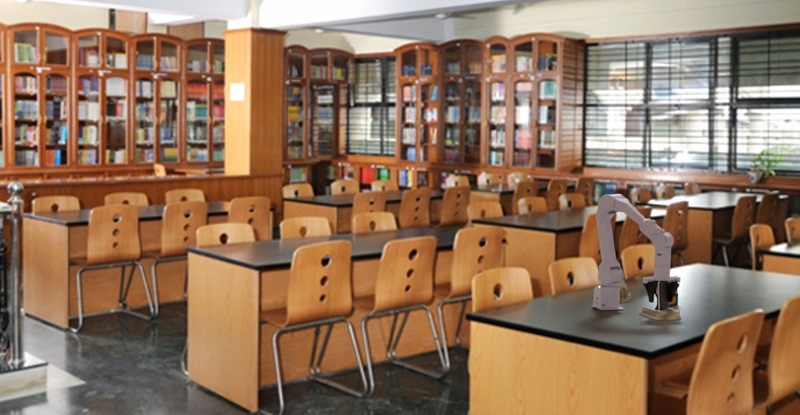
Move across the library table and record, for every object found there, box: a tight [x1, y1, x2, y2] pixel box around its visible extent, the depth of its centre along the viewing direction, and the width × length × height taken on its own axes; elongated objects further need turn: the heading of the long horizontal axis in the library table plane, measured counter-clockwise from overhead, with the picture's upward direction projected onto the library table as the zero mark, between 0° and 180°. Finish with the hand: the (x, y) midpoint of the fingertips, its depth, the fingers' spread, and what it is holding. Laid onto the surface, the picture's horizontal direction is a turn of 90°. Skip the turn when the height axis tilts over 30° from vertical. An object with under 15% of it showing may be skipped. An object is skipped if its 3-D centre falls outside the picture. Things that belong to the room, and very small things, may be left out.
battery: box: [653, 281, 669, 311], centre depth 339 cm, size 7×4×11 cm, turn 138°
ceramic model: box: [619, 279, 632, 304], centre depth 373 cm, size 14×11×10 cm
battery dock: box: [638, 306, 682, 321], centre depth 340 cm, size 10×12×3 cm
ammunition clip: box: [669, 275, 679, 308], centre depth 361 cm, size 11×2×12 cm, turn 136°
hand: (660, 302), depth 339 cm, fingers closed on battery, 7 cm apart
